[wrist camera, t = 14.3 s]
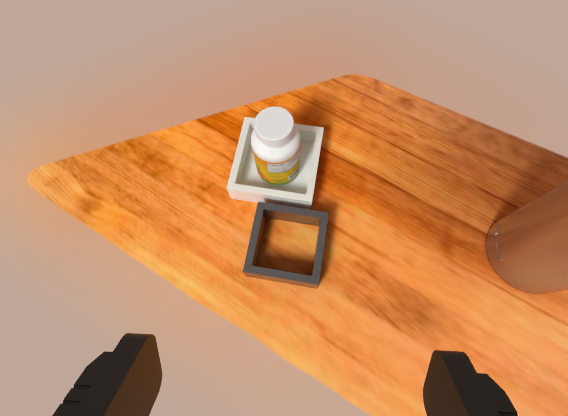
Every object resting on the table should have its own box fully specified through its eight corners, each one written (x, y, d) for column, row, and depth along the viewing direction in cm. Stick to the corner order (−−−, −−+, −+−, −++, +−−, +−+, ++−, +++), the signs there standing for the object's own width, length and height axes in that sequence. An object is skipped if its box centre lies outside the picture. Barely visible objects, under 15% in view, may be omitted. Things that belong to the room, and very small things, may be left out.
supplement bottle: (255, 151, 44) (245, 103, 35) (297, 147, 44) (297, 97, 35) (258, 189, 42) (248, 148, 33) (302, 185, 42) (304, 143, 33)
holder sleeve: (326, 220, 41) (328, 212, 38) (317, 288, 38) (318, 284, 35) (260, 210, 41) (258, 201, 39) (246, 276, 39) (242, 271, 36)
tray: (322, 140, 45) (323, 127, 42) (310, 210, 41) (312, 201, 38) (248, 130, 45) (244, 116, 43) (231, 198, 42) (226, 188, 39)
